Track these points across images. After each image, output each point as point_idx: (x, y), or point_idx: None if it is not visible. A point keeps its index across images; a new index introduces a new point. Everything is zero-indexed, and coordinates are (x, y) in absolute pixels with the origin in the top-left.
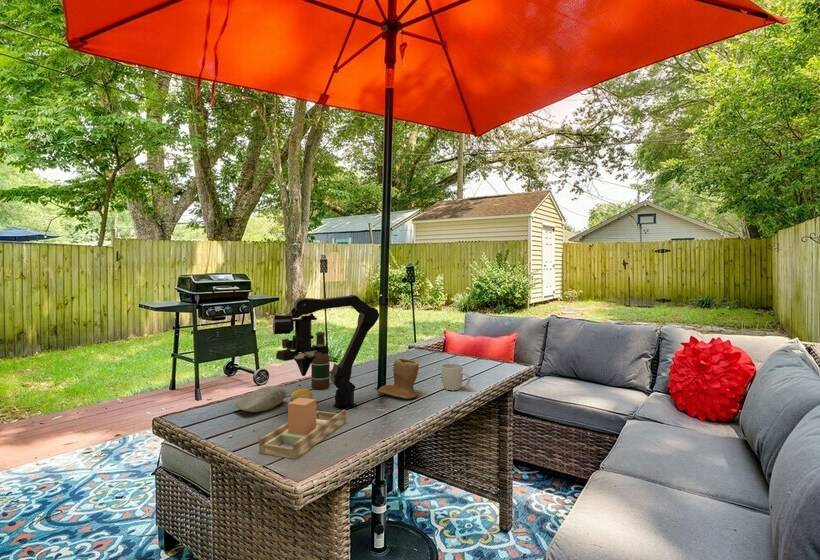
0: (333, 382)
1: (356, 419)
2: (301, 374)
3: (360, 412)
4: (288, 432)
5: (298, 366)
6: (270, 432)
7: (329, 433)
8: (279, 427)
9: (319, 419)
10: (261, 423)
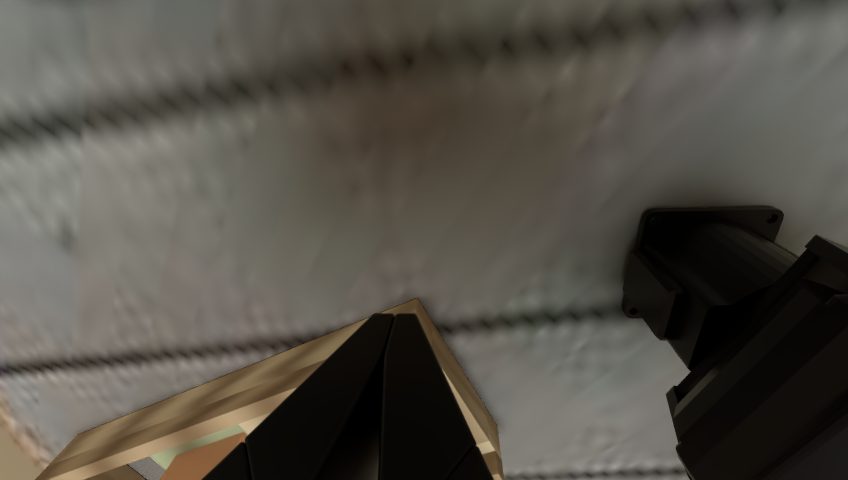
0: (699, 413)
1: (552, 435)
2: (361, 331)
3: (646, 390)
4: (175, 458)
5: (228, 463)
6: (79, 468)
7: None
8: (125, 453)
9: None
10: (115, 165)
